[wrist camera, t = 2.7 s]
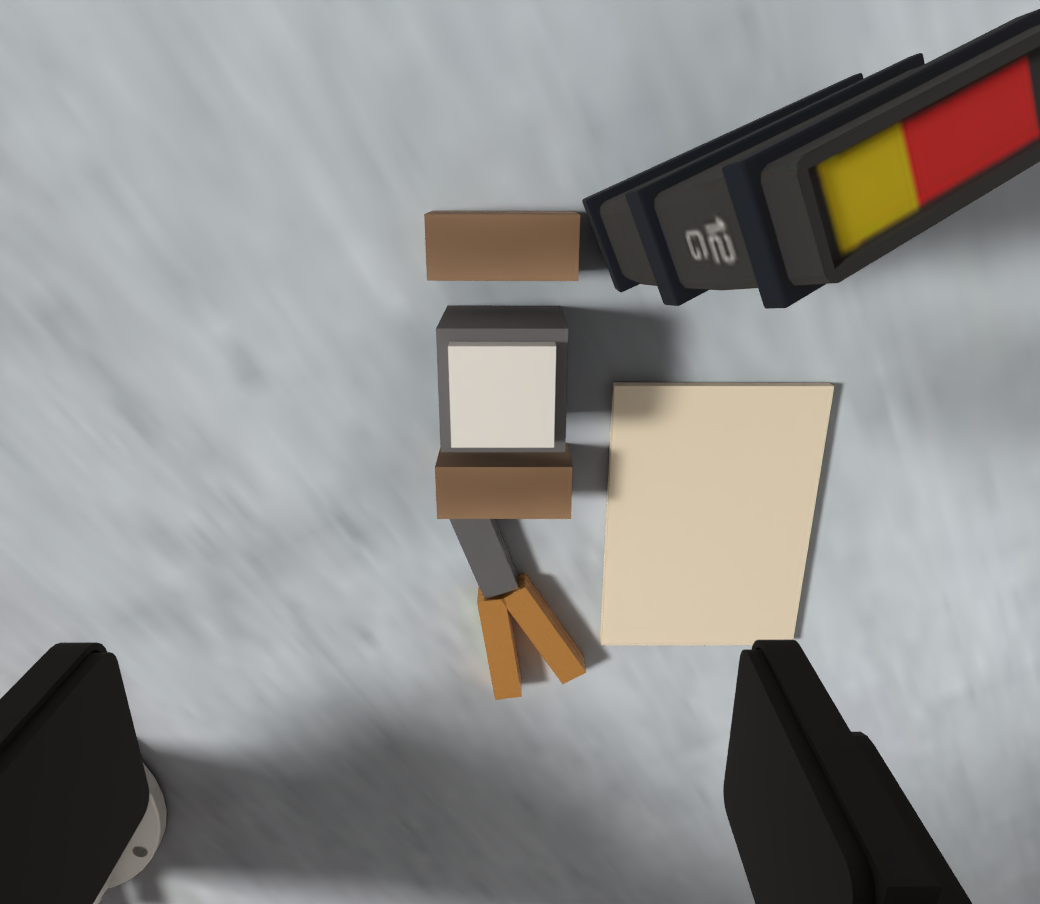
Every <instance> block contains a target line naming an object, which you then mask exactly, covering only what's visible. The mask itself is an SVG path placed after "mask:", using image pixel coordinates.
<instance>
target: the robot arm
mask: <svg viewBox="0 0 1040 904" xmlns="http://www.w3.org/2000/svg"><path fill="white" fill-rule="evenodd" d="M724 803H725V809H726V813H727V816H728V820H729V823H730V826H731V829H732V832H733V835H734V838H735V841H736V844H737V848H738V851H739V854H740V857H741V860H742V863H743V866H744V869H745V872H746V875H747V879H748V882H749V885H750V888H751V891H752V894H753V897H754V900H755V903H756V904H972V902H971V901H970V899H969V898H968V896H967V894H966V893H965V891H964V890H963V888H962V886H961V885H960V883H959V881H958V880H957V878H956V877H955V875H954V873H953V872H952V870H951V868H950V867H949V865H948V864H947V862H946V860H945V859H944V857H943V856H942V854H941V852H940V851H939V849H938V847H937V846H936V844H935V843H934V841H933V839H932V838H931V836H930V834H929V833H928V831H927V830H926V828H925V826H924V825H923V823H922V822H921V820H920V818H919V817H918V815H917V813H916V812H915V810H914V809H913V807H912V805H911V804H910V802H909V800H908V799H907V797H906V796H905V794H904V792H903V791H902V789H901V788H900V786H899V784H898V783H897V781H896V779H895V778H894V776H893V775H892V773H891V771H890V770H889V768H888V766H887V765H886V763H885V762H884V760H883V758H882V757H881V755H880V754H879V752H878V750H877V749H876V747H875V745H874V744H873V743H872V741H871V740H870V739H869V738H868V736H867V735H865V734H863V733H862V732H851V731H850V729H849V728H848V726H847V724H846V723H845V721H844V719H843V718H842V716H841V714H840V713H839V711H838V709H837V707H836V706H835V704H834V702H833V701H832V699H831V697H830V696H829V694H828V692H827V691H826V689H825V687H824V685H823V684H822V682H821V680H820V679H819V677H818V675H817V674H816V672H815V670H814V669H813V667H812V665H811V663H810V662H809V660H808V658H807V657H806V655H805V653H804V652H803V650H802V648H801V647H800V645H799V644H798V642H797V641H795V640H793V639H792V640H756V641H755V642H754V644H753V646H752V650H743V651H742V652H741V655H740V661H739V668H738V676H737V684H736V692H735V700H734V708H733V716H732V724H731V732H730V740H729V748H728V756H727V763H726V771H725V779H724ZM166 816H167V810H166V806H165V801H164V797H163V794H162V792H161V789H160V787H159V785H158V783H157V781H156V779H155V778H154V776H153V775H152V774H151V772H150V771H149V770H148V768H147V767H146V766H145V764H144V763H143V761H142V757H141V753H140V749H139V745H138V741H137V737H136V733H135V729H134V725H133V721H132V717H131V713H130V709H129V705H128V701H127V697H126V693H125V689H124V685H123V681H122V677H121V673H120V668H119V664H118V661H117V658H116V656H115V655H114V654H113V653H110V652H107V651H106V648H105V647H104V646H103V645H102V644H100V643H59V644H55V645H54V646H53V647H51V648H50V649H49V650H48V651H47V652H46V653H45V654H44V655H43V656H42V657H41V658H40V659H39V660H38V661H37V662H36V663H35V664H34V665H33V666H32V667H31V668H30V669H29V670H28V671H27V673H26V674H25V675H24V676H23V677H22V678H21V679H20V680H19V681H18V682H17V683H16V684H15V685H14V686H13V687H12V688H11V689H10V690H9V691H8V692H7V693H6V694H5V695H4V696H3V697H2V698H1V699H0V904H98V903H99V902H100V900H101V898H102V896H103V895H104V893H105V891H106V889H109V888H113V887H115V886H118V885H120V884H122V883H124V882H126V881H128V880H130V879H131V878H133V877H134V876H135V875H137V874H138V873H139V872H141V871H142V870H143V869H144V867H145V866H146V865H147V864H148V863H149V861H150V860H151V859H152V858H153V856H154V854H155V852H156V850H157V848H158V846H159V844H160V843H161V841H162V838H163V835H164V831H165V828H166Z"/></svg>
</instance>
